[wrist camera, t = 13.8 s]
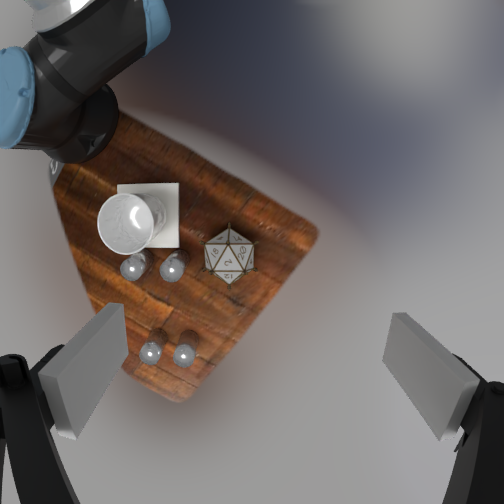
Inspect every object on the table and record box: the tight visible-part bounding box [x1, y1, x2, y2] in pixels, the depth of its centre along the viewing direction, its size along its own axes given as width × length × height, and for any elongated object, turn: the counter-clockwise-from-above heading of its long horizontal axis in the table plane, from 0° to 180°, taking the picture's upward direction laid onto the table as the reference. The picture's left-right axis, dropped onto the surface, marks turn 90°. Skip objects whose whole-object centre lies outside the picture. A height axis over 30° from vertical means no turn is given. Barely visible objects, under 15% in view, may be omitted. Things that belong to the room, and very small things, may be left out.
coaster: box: [117, 183, 180, 248], centre depth 49 cm, size 10×10×1 cm
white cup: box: [98, 193, 167, 255], centre depth 44 cm, size 8×8×10 cm
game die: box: [199, 222, 259, 291], centre depth 47 cm, size 9×8×10 cm
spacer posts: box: [120, 249, 199, 367], centre depth 49 cm, size 17×10×7 cm, turn 179°
